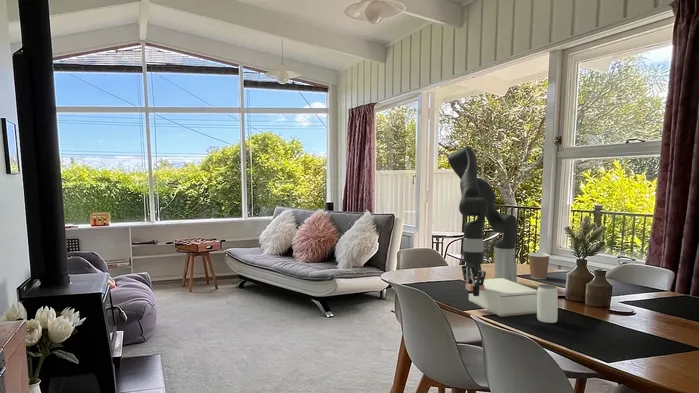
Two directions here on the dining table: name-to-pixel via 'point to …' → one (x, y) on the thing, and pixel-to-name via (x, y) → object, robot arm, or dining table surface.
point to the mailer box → (506, 303)
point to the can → (547, 303)
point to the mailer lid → (503, 287)
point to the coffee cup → (538, 265)
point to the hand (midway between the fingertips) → (473, 294)
